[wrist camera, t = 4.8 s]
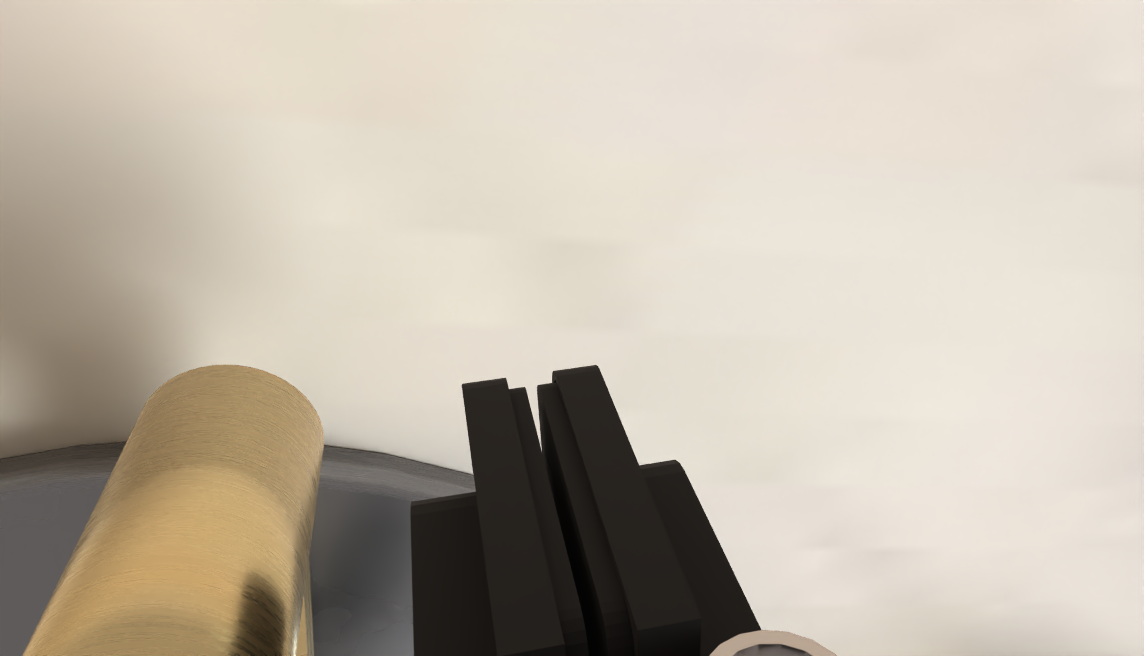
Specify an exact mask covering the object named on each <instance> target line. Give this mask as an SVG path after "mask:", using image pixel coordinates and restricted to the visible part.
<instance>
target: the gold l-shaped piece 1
mask: <svg viewBox="0 0 1144 656" xmlns="http://www.w3.org/2000/svg"><path fill="white" fill-rule="evenodd" d="M323 450H324V433H323V428H322V424H321V421H320V418H319V416H318V414H317V412H316V410H315V409H314V407H313V406H312V404H311V403H310V402H309V400H308V399H307V398H306V397H305V396H304V395H303V394H302V393H301V392H300V391H299V390H298V389H296V388H295V387H294V386H292V385H291V384H289V383H288V382H287V381H285V380H283V379H281V378H279V377H277V376H275V375H273V374H270V373H268V372H265V371H262V370H259V369H255V368H251V367H245V366H239V365H212V366H206V367H200V368H197V369H193V370H190V371H187V372H185V373H182V374H180V375H177V376H176V377H174V378H172V379H170V380H169V381H167V382H166V383H164V384H163V385H162V386H161V387H159V388H158V389H157V390H156V391H155V392H154V393H153V394H152V395H151V397H150V398H149V400H148V401H147V402H146V404H145V406H144V408H143V410H142V412H141V414H140V416H139V418H138V420H137V422H136V424H135V426H134V428H133V430H132V432H131V434H130V436H129V438H128V440H127V442H126V445H125V447H124V449H123V451H122V453H121V455H120V457H119V459H118V461H117V463H116V465H115V467H114V469H113V471H112V473H111V475H110V477H109V479H108V481H107V483H106V485H105V487H104V490H103V492H102V494H101V496H100V498H99V500H98V502H97V504H96V506H95V508H94V510H93V512H92V514H91V516H90V518H89V520H88V522H87V524H86V526H85V528H84V530H83V532H82V535H81V537H80V539H79V541H78V543H77V545H76V547H75V549H74V551H73V553H72V555H71V557H70V559H69V561H68V563H67V565H66V567H65V569H64V571H63V573H62V575H61V577H60V580H59V582H58V584H57V586H56V588H55V590H54V592H53V594H52V596H51V598H50V600H49V602H48V604H47V606H46V608H45V610H44V612H43V614H42V616H41V618H40V620H39V622H38V625H37V627H36V629H35V631H34V633H33V635H32V637H31V639H30V641H29V643H28V645H27V647H26V649H25V651H24V653H23V655H22V656H314V640H313V619H312V598H311V577H310V556H309V554H310V546H311V539H312V531H313V524H314V517H315V509H316V502H317V494H318V487H319V479H320V472H321V465H322V457H323Z"/></svg>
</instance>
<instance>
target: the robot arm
mask: <svg viewBox="0 0 1144 656" xmlns="http://www.w3.org/2000/svg"><path fill="white" fill-rule="evenodd" d="M462 390H463V398H464V405H465V413H466V421H467V428H468V436H469V444H470V451H471V459H472V467H473V474H474V482H475V489H476V492H470V493H463V494H457V495H451V496H444V497H438V498H432V499H426V500H419V501H413V502H411V506H410V521H411V561H412V602H413V643H414V656H837V655H836V654H835V653H833V652H831V651H830V650H828V649H826V648H825V647H823V646H821V645H820V644H818V643H816V642H815V641H813V640H811V639H808V638H805V637H802V636H799V635H796V634H793V633H789V632H783V631H770V630H761V628H760V626H759V624H758V622H757V620H756V618H755V616H754V614H753V612H752V610H751V608H750V605H749V603H748V601H747V599H746V597H745V595H744V593H743V591H742V589H741V587H740V585H739V583H738V581H737V579H736V576H735V574H734V572H733V570H732V568H731V566H730V564H729V562H728V560H727V558H726V556H725V554H724V552H723V549H722V547H721V545H720V543H719V541H718V539H717V537H716V535H715V533H714V531H713V529H712V527H711V525H710V523H709V520H708V518H707V516H706V514H705V512H704V510H703V508H702V506H701V504H700V502H699V500H698V498H697V496H696V494H695V491H694V489H693V487H692V485H691V483H690V481H689V479H688V477H687V475H686V473H685V471H684V469H683V468H682V466H681V464H680V463H679V462H678V461H676V460H671V461H664V462H658V463H652V464H645V465H639V464H638V462H637V459H636V457H635V454H634V452H633V450H632V447H631V445H630V442H629V440H628V437H627V435H626V433H625V430H624V428H623V425H622V423H621V420H620V418H619V415H618V413H617V411H616V408H615V406H614V403H613V401H612V398H611V396H610V394H609V391H608V389H607V386H606V384H605V381H604V379H603V377H602V374H601V372H600V369H599V368H598V366H597V365H593V366H586V367H579V368H572V369H564V370H557V371H553V373H552V383H549V384H542V385H538V386H537V395H538V408H539V420H540V432H541V445H542V451H541V447H540V443H539V439H538V435H537V431H536V428H535V424H534V420H533V416H532V412H531V408H530V404H529V400H528V396H527V392H526V388H525V387H521V388H514V389H509V388H508V384H507V380H506V378H501V379H494V380H487V381H479V382H472V383H465V384H462Z"/></svg>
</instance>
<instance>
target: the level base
mask: <svg viewBox="0 0 1144 656" xmlns="http://www.w3.org/2000/svg"><path fill="white" fill-rule="evenodd" d="M125 445H126V442H125V443H111V444H97V445H83V446H74V447H68V448H63V449H57V450H51V451H46V452H40V453H34V454H29V455H23V456H17V457H12V458H6V459H0V656H22V655H23V653H24V651H25V649H26V647H27V645H28V643H29V641H30V639H31V637H32V635H33V633H34V631H35V629H36V627H37V625H38V622H39V620H40V618H41V616H42V614H43V612H44V610H45V608H46V606H47V604H48V602H49V600H50V598H51V596H52V594H53V592H54V590H55V588H56V586H57V584H58V582H59V580H60V577H61V575H62V573H63V571H64V569H65V567H66V565H67V563H68V561H69V559H70V557H71V555H72V553H73V551H74V549H75V547H76V545H77V543H78V541H79V539H80V537H81V535H82V532H83V530H84V528H85V526H86V524H87V522H88V520H89V518H90V516H91V514H92V512H93V510H94V508H95V506H96V504H97V502H98V500H99V498H100V496H101V494H102V492H103V490H104V487H105V485H106V483H107V481H108V479H109V477H110V475H111V473H112V471H113V469H114V467H115V465H116V463H117V461H118V459H119V457H120V455H121V453H122V451H123V449H124V447H125ZM470 492H476V489H475V482H474V476H473V475H470V474H466V473H462V472H458V471H454V470H449V469H445V468H441V467H437V466H433V465H429V464H425V463H421V462H417V461H413V460H408V459H404V458H400V457H396V456H392V455H388V454H382V453H375V452H367V451H360V450H352V449H344V448H337V447H329V446H324V450H323V457H322V465H321V472H320V479H319V487H318V494H317V502H316V509H315V517H314V524H313V531H312V539H311V546H310V554H309V556H310V577H311V598H312V619H313V640H314V656H414V643H413V602H412V561H411V521H410V506H411V502H413V501H419V500H426V499H432V498H438V497H444V496H451V495H457V494H463V493H470Z"/></svg>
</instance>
